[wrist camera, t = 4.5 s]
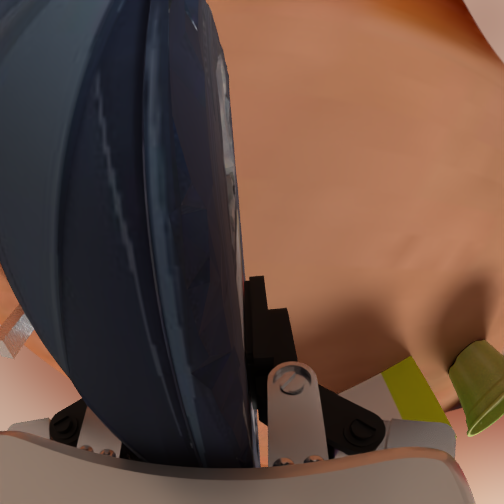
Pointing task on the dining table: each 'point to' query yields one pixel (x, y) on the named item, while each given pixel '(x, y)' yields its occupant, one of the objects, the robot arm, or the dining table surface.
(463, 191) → the dining table surface
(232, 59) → the dining table surface
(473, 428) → the plant pot
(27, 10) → the vhs cassette tape
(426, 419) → the puzzle toy
